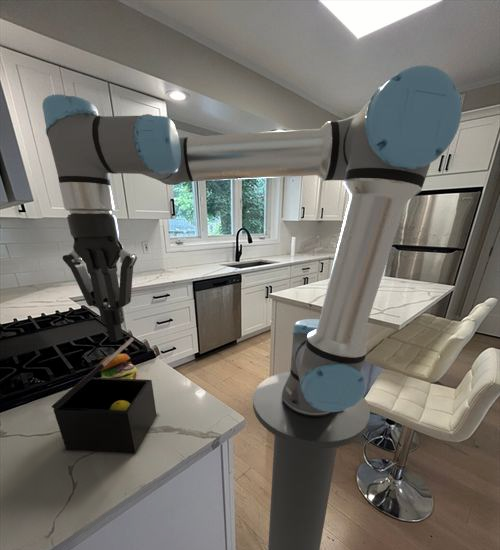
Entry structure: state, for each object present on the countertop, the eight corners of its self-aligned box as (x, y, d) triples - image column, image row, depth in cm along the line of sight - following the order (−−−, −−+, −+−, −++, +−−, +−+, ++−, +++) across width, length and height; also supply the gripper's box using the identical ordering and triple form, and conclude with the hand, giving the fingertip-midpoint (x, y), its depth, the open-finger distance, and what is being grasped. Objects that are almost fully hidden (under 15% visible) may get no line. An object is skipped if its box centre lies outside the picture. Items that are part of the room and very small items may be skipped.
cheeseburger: (114, 394, 80) (103, 362, 77) (98, 389, 86) (87, 359, 84) (145, 378, 87) (135, 349, 85) (128, 375, 94) (119, 347, 91)
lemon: (132, 418, 69) (127, 391, 66) (140, 430, 65) (134, 402, 62) (109, 427, 66) (102, 399, 63) (115, 441, 62) (108, 412, 59)
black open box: (156, 415, 72) (151, 379, 67) (135, 453, 60) (127, 413, 56) (98, 412, 72) (89, 377, 68) (66, 450, 61) (53, 409, 56)
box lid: (134, 339, 63) (131, 337, 63) (104, 366, 52) (101, 363, 52) (90, 376, 68) (87, 374, 68) (54, 409, 56) (50, 406, 56)
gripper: (137, 213, 51) (154, 332, 60) (69, 213, 51) (96, 331, 60) (117, 212, 44) (139, 347, 53) (38, 212, 44) (74, 345, 53)
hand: (116, 338), depth 57 cm, fingers closed
